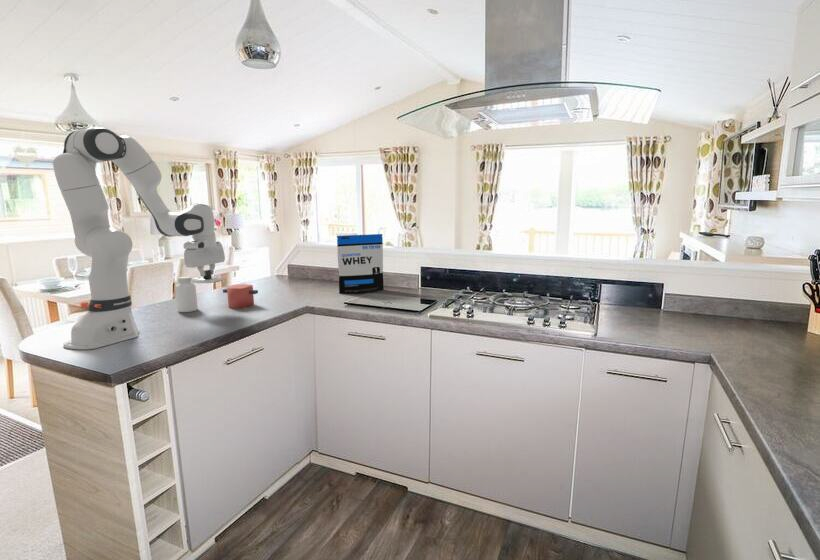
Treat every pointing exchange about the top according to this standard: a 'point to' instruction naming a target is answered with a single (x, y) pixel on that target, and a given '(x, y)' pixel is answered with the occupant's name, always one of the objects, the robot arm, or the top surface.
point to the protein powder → (360, 263)
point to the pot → (240, 296)
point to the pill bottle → (186, 295)
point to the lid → (207, 278)
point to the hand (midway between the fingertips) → (207, 275)
